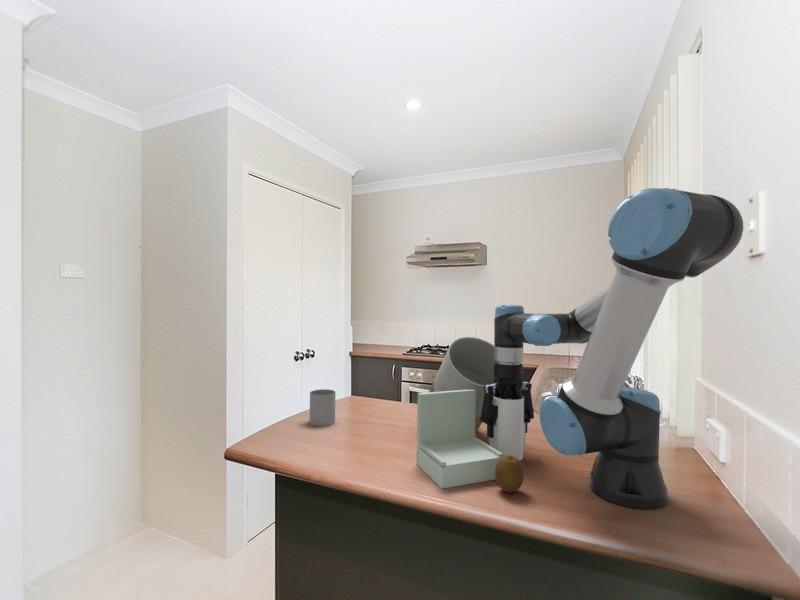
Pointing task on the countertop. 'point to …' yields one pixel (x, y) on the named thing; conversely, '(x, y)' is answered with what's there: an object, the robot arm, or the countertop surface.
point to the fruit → (509, 473)
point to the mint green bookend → (452, 440)
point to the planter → (467, 370)
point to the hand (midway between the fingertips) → (507, 447)
